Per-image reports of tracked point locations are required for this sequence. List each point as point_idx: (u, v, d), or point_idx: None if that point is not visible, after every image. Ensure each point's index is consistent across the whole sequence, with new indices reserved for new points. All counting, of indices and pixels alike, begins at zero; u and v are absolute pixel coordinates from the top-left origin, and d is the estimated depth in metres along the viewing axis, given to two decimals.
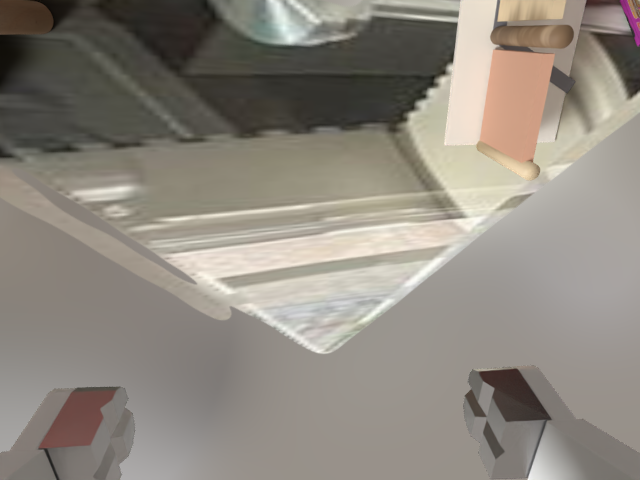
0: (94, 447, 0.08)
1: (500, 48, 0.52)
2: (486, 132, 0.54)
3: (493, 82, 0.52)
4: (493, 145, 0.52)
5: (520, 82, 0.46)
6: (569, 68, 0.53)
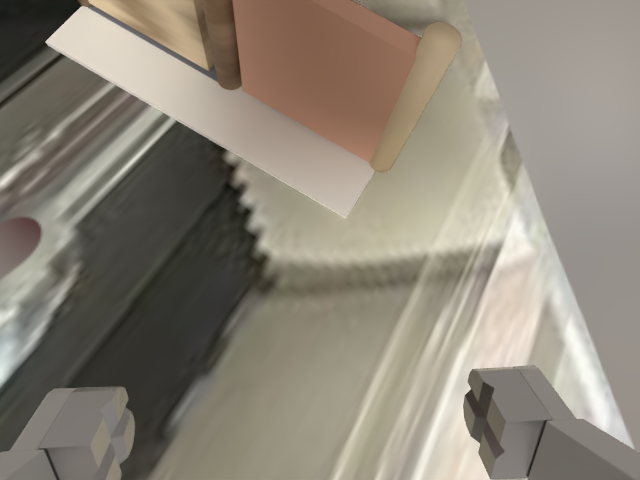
0: (94, 447, 0.08)
1: None
2: (357, 142, 0.30)
3: (284, 103, 0.30)
4: (378, 131, 0.27)
5: (276, 31, 0.24)
6: None
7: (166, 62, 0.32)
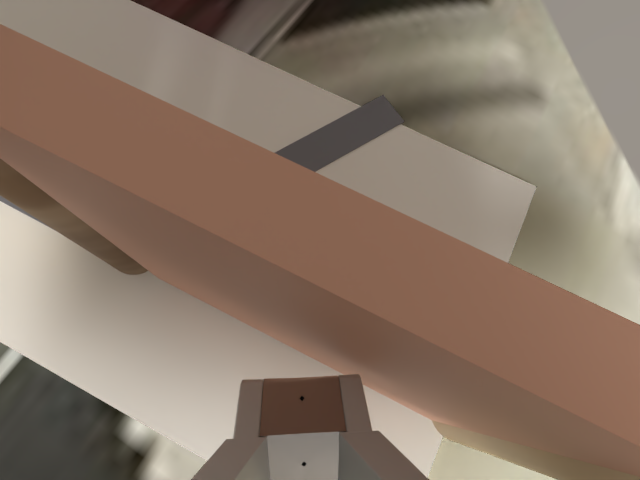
0: None
1: None
2: (407, 403, 0.13)
3: (239, 317, 0.14)
4: (470, 428, 0.11)
5: (165, 251, 0.08)
6: (339, 100, 0.19)
7: (7, 227, 0.16)
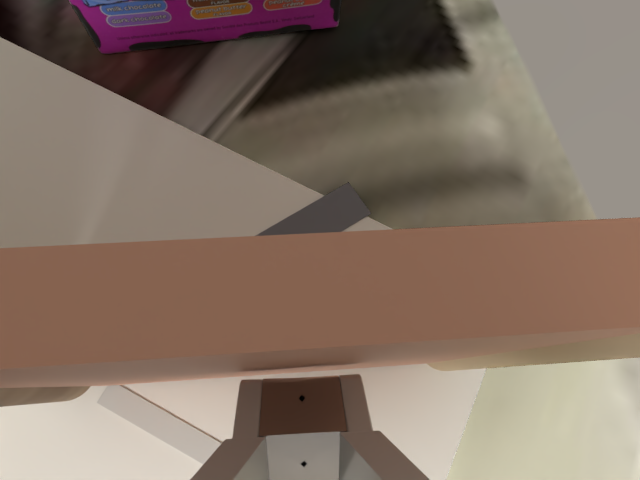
0: None
1: None
2: (399, 364, 0.13)
3: (208, 377, 0.13)
4: None
5: (91, 377, 0.07)
6: (300, 189, 0.17)
7: None
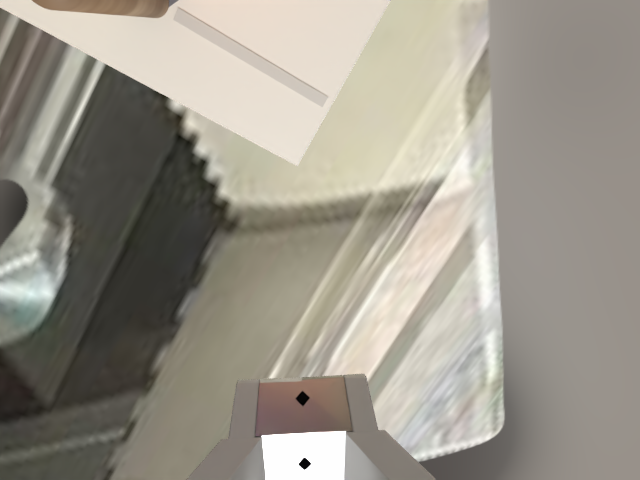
0: None
1: (177, 5, 0.27)
2: None
3: None
4: None
5: None
6: None
7: None
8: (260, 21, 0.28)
